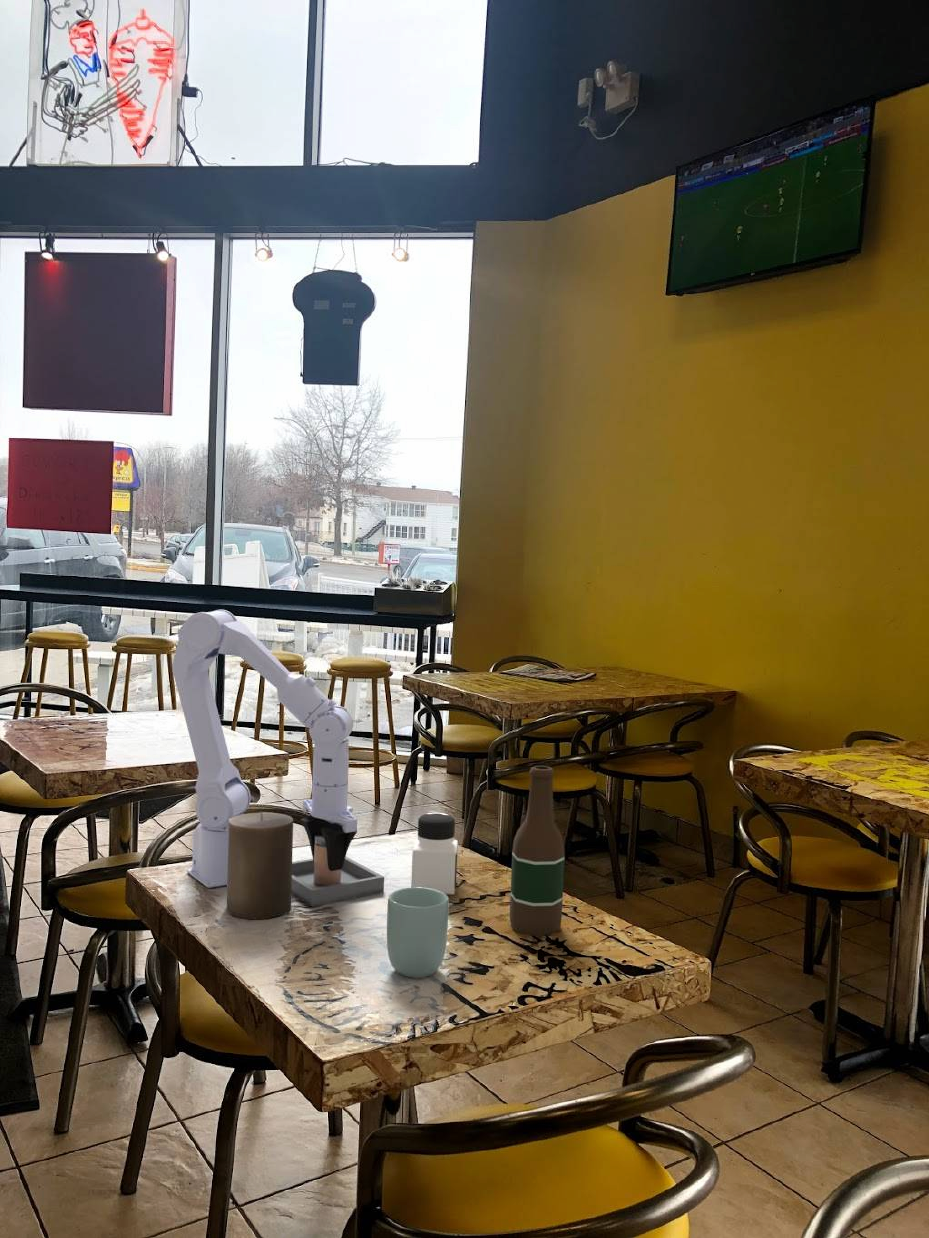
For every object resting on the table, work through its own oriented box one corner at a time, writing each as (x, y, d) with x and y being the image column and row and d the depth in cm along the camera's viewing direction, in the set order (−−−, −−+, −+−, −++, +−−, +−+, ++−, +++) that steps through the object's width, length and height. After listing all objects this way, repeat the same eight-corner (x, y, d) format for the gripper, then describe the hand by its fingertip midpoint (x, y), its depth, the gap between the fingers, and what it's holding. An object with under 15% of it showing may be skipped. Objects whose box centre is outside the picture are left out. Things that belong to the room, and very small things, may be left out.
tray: (271, 880, 164) (271, 865, 164) (340, 868, 171) (341, 853, 171) (311, 906, 152) (312, 890, 152) (383, 892, 160) (384, 876, 160)
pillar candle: (290, 919, 147) (294, 819, 146) (222, 920, 145) (226, 819, 145) (291, 897, 156) (294, 803, 156) (228, 898, 155) (231, 803, 154)
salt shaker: (308, 879, 162) (310, 834, 162) (332, 874, 165) (333, 830, 164) (322, 887, 159) (323, 840, 158) (345, 882, 162) (347, 837, 161)
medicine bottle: (455, 895, 160) (458, 822, 159) (410, 893, 160) (413, 820, 159) (456, 880, 167) (459, 810, 166) (413, 879, 167) (416, 808, 167)
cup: (413, 954, 136) (416, 882, 135) (457, 971, 131) (460, 897, 130) (373, 971, 130) (376, 896, 129) (418, 989, 125) (420, 912, 124)
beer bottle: (558, 939, 143) (566, 775, 142) (505, 933, 145) (512, 770, 143) (563, 920, 151) (571, 764, 149) (513, 914, 152) (519, 760, 151)
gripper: (374, 789, 157) (371, 873, 158) (330, 771, 169) (327, 849, 170) (335, 794, 153) (332, 880, 154) (292, 775, 165) (290, 855, 166)
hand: (327, 865), depth 162 cm, fingers open, 5 cm apart
